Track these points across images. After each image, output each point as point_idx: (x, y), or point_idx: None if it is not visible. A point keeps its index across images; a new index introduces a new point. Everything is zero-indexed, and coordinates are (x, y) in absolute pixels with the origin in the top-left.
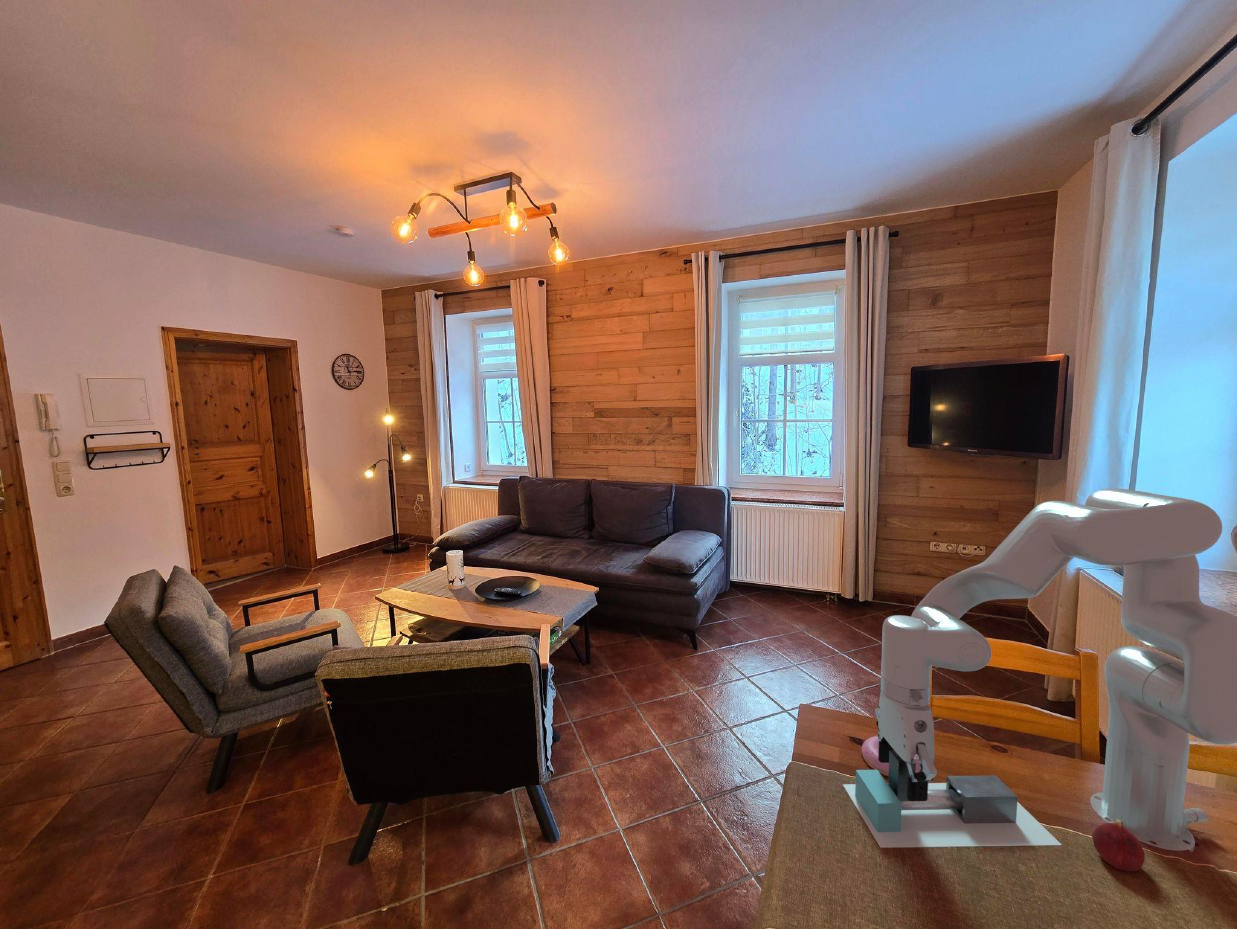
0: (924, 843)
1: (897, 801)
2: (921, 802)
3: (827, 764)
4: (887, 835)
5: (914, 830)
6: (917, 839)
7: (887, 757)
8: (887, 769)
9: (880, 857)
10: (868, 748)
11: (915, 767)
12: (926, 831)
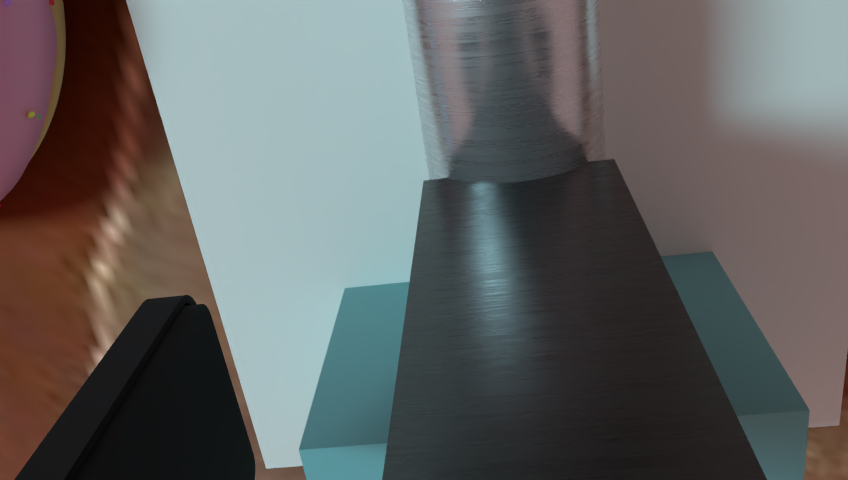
0: (839, 117)
1: (778, 434)
2: (594, 65)
3: (30, 454)
4: None
5: (701, 138)
6: (794, 155)
7: (215, 454)
8: (21, 129)
9: (842, 400)
10: None
11: (740, 431)
12: (718, 42)
